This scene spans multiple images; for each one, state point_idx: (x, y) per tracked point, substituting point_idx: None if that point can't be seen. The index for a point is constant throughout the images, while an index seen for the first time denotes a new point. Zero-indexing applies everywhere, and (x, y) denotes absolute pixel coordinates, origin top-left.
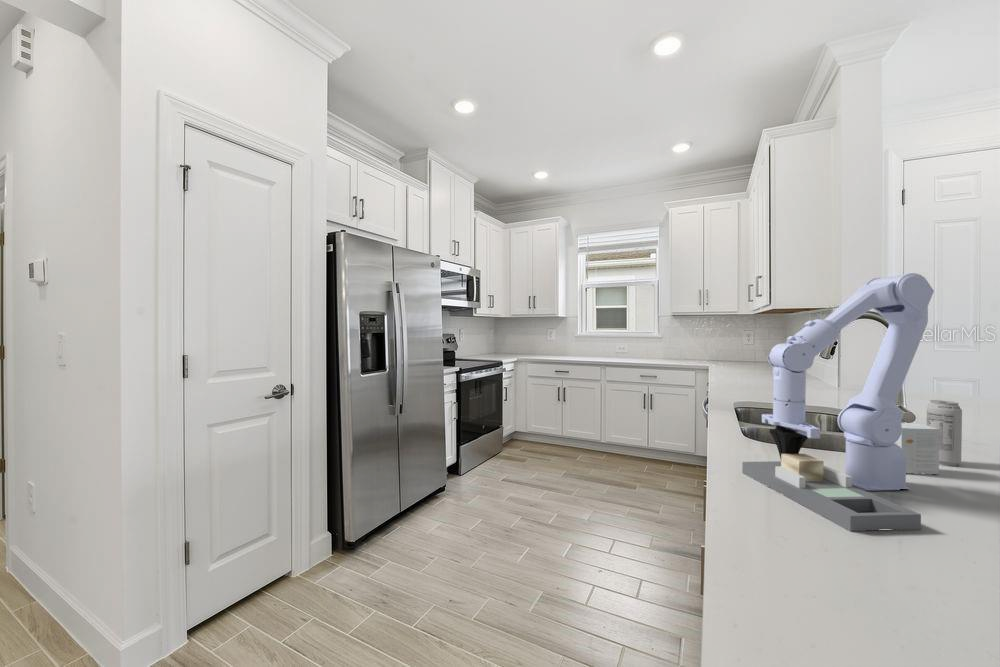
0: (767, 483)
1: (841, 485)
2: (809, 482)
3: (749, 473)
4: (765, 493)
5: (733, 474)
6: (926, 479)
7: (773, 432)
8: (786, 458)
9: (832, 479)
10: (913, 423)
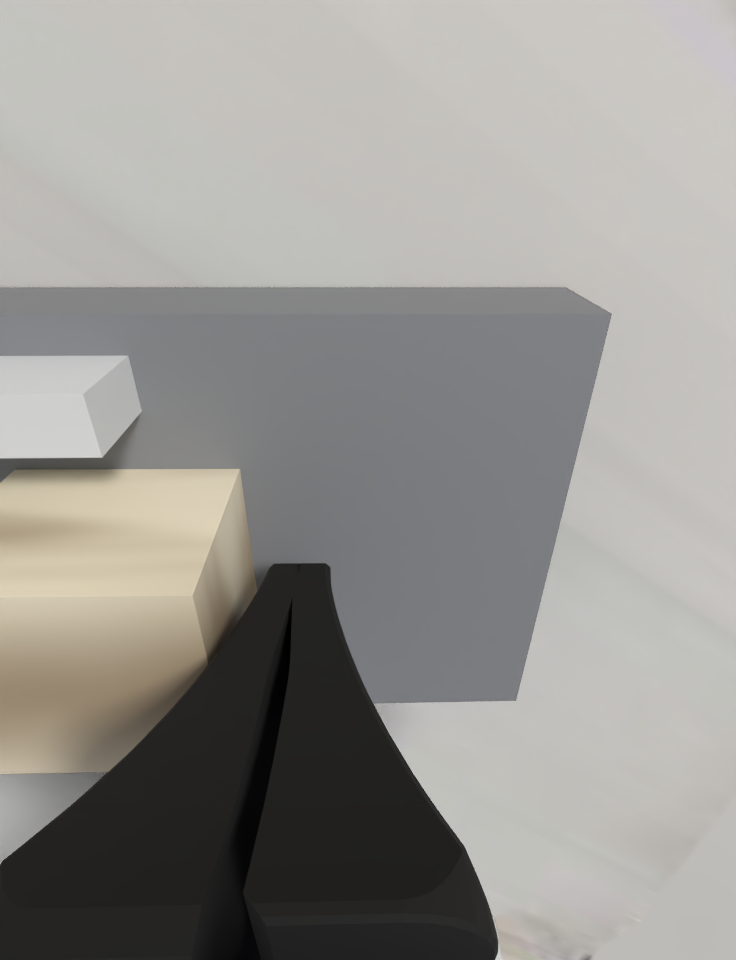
0: (205, 294)
1: None
2: None
3: (466, 293)
4: (12, 136)
5: (552, 157)
6: None
7: (319, 880)
8: (109, 574)
9: None
10: None
